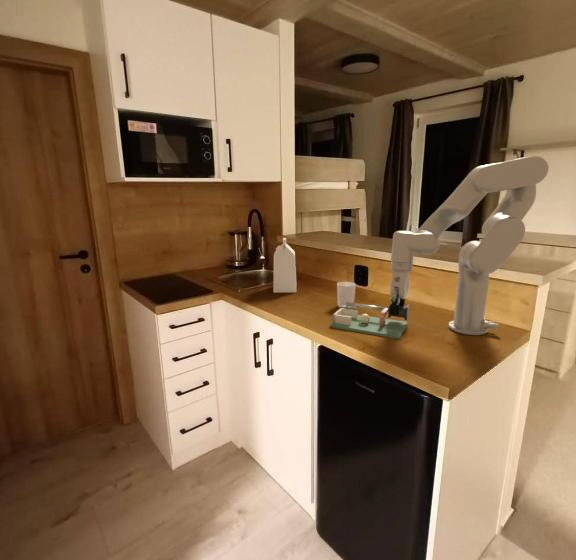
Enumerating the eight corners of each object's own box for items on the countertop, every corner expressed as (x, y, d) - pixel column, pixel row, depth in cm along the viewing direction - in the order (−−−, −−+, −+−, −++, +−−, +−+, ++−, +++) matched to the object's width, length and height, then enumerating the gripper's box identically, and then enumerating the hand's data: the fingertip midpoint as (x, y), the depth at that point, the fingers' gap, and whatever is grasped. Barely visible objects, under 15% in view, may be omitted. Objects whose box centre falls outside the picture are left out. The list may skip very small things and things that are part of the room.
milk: (296, 292, 178) (296, 240, 172) (273, 292, 179) (272, 240, 172) (296, 286, 190) (296, 237, 184) (274, 286, 190) (273, 237, 184)
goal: (357, 317, 139) (358, 310, 138) (350, 325, 131) (350, 317, 131) (340, 315, 142) (340, 307, 141) (332, 322, 135) (332, 314, 134)
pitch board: (407, 324, 134) (408, 313, 133) (399, 339, 121) (400, 326, 120) (343, 314, 146) (343, 304, 144) (330, 327, 133) (330, 315, 132)
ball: (370, 322, 134) (371, 313, 133) (368, 325, 131) (368, 316, 130) (361, 320, 136) (361, 311, 135) (358, 323, 133) (358, 314, 132)
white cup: (340, 309, 152) (341, 287, 149) (333, 304, 159) (334, 282, 157) (357, 308, 154) (358, 285, 151) (350, 302, 161) (350, 281, 159)
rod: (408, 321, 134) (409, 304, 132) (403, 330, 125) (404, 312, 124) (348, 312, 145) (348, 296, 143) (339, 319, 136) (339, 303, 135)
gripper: (407, 271, 119) (402, 320, 123) (416, 262, 134) (411, 306, 138) (384, 269, 123) (380, 316, 127) (395, 260, 137) (391, 303, 142)
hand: (396, 311), depth 133 cm, fingers open, 9 cm apart
